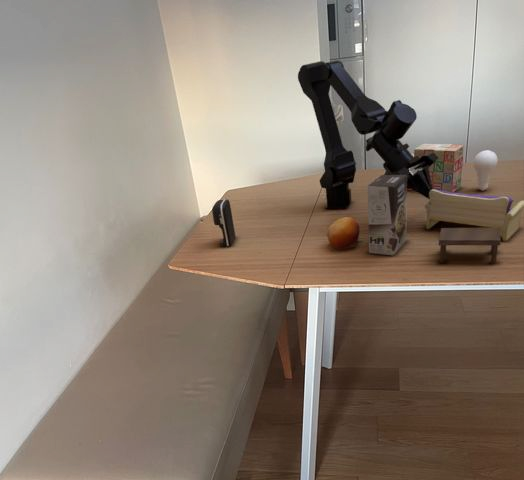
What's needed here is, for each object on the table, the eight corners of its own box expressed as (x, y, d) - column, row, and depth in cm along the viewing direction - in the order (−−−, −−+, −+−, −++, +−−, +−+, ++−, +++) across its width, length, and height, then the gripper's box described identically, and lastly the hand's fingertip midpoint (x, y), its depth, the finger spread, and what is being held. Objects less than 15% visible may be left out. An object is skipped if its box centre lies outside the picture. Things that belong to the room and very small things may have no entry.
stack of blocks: (386, 188, 162) (385, 147, 155) (395, 182, 165) (395, 142, 159) (452, 194, 149) (455, 150, 142) (461, 187, 153) (464, 144, 146)
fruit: (367, 245, 123) (348, 218, 121) (339, 262, 127) (320, 236, 124) (368, 232, 130) (350, 207, 127) (342, 249, 134) (324, 224, 131)
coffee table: (437, 263, 113) (439, 240, 110) (440, 250, 118) (441, 228, 115) (497, 264, 109) (500, 240, 106) (497, 251, 114) (499, 227, 111)
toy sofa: (522, 228, 122) (528, 185, 117) (509, 242, 117) (514, 197, 112) (438, 218, 135) (440, 179, 130) (423, 230, 130) (424, 189, 125)
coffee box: (394, 256, 119) (394, 186, 111) (368, 253, 123) (366, 185, 114) (407, 241, 126) (408, 174, 117) (382, 239, 129) (381, 173, 120)
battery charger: (223, 238, 145) (215, 198, 139) (236, 237, 144) (229, 196, 138) (217, 248, 139) (209, 206, 133) (231, 247, 139) (223, 205, 133)
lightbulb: (470, 193, 147) (473, 154, 141) (472, 187, 152) (475, 148, 146) (494, 193, 145) (498, 152, 139) (494, 186, 149) (498, 147, 143)
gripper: (391, 163, 140) (428, 207, 139) (353, 183, 129) (393, 230, 128) (418, 132, 131) (458, 178, 130) (379, 151, 120) (423, 202, 119)
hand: (432, 198), depth 127 cm, fingers closed, pressing on toy sofa
